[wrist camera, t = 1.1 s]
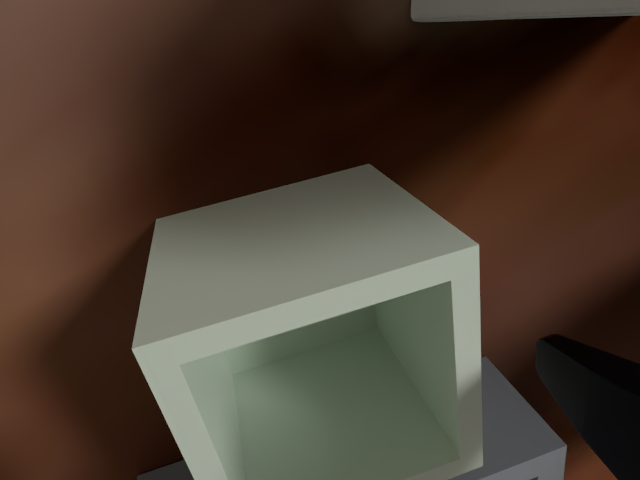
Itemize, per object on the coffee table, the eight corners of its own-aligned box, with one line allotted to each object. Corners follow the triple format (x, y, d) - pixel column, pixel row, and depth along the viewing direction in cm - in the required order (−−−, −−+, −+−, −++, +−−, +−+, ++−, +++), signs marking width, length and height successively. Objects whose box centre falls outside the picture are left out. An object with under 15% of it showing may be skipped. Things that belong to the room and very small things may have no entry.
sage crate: (368, 163, 14) (478, 244, 8) (390, 328, 17) (483, 466, 11) (156, 217, 13) (131, 349, 7) (219, 383, 16) (233, 561, 10)
